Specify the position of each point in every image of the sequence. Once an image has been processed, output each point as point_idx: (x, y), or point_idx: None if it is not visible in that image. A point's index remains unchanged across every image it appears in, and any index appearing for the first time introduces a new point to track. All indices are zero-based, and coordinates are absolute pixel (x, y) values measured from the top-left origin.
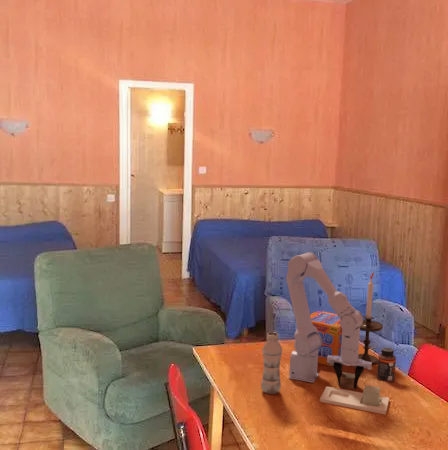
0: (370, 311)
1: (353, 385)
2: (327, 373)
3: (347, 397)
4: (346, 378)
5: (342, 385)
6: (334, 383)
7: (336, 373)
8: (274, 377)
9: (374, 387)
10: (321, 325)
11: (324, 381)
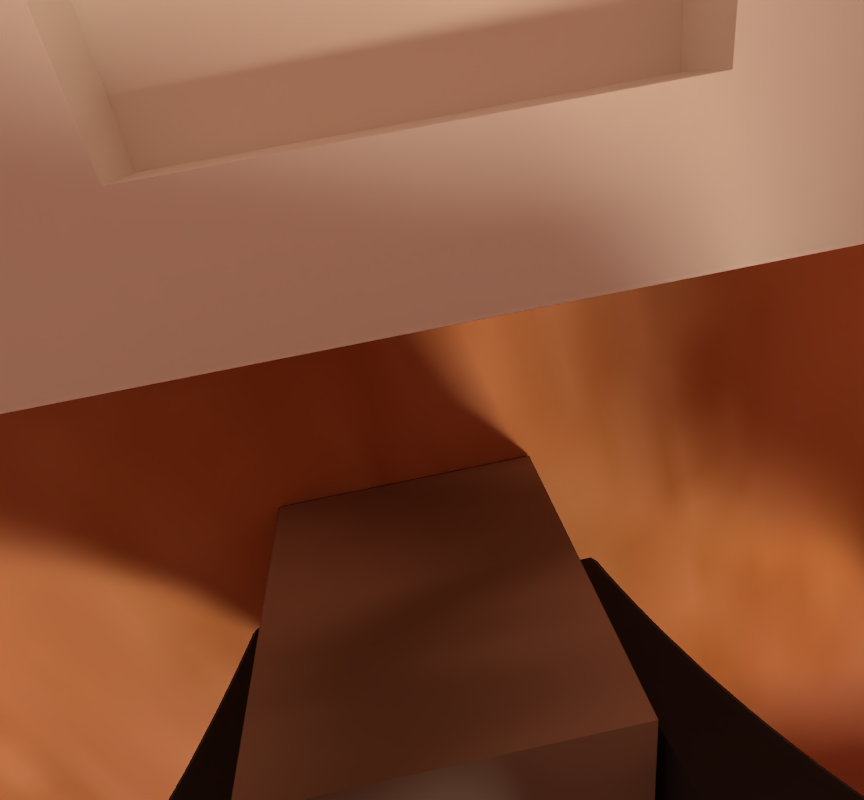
0: None
1: (260, 641)
2: None
3: (131, 16)
4: (462, 747)
5: (510, 550)
6: (665, 632)
7: (835, 791)
8: None
9: None
10: None
11: (813, 604)
